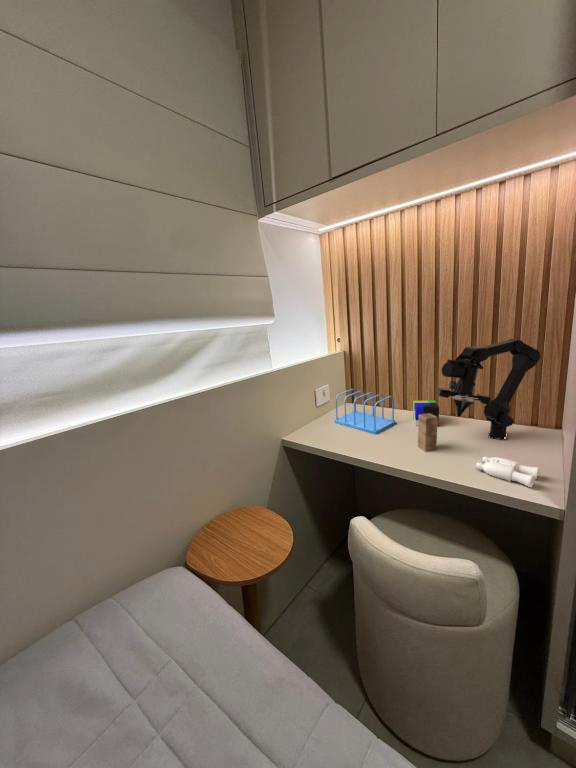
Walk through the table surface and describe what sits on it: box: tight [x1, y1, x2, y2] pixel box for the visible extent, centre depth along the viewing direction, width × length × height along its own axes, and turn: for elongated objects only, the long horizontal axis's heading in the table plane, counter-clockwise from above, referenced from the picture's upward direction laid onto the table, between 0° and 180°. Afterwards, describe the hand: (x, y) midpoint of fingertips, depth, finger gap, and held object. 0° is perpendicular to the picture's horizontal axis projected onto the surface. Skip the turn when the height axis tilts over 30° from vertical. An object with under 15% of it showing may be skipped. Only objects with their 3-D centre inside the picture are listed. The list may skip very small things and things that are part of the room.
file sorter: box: [334, 388, 397, 435], centre depth 161 cm, size 25×17×15 cm
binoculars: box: [475, 456, 540, 488], centre depth 108 cm, size 10×16×5 cm, turn 41°
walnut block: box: [417, 413, 438, 453], centre depth 129 cm, size 5×5×14 cm
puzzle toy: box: [412, 400, 440, 428], centre depth 156 cm, size 10×10×10 cm
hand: (458, 416), depth 130 cm, fingers closed
